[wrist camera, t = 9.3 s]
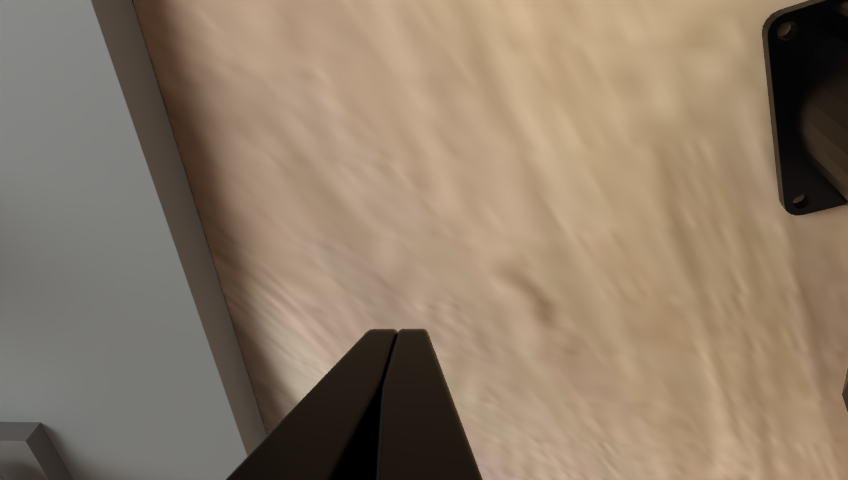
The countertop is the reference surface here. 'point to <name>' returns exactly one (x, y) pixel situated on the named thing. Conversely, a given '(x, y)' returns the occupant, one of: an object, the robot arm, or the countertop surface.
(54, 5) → the switch panel
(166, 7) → the countertop surface
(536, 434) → the countertop surface
